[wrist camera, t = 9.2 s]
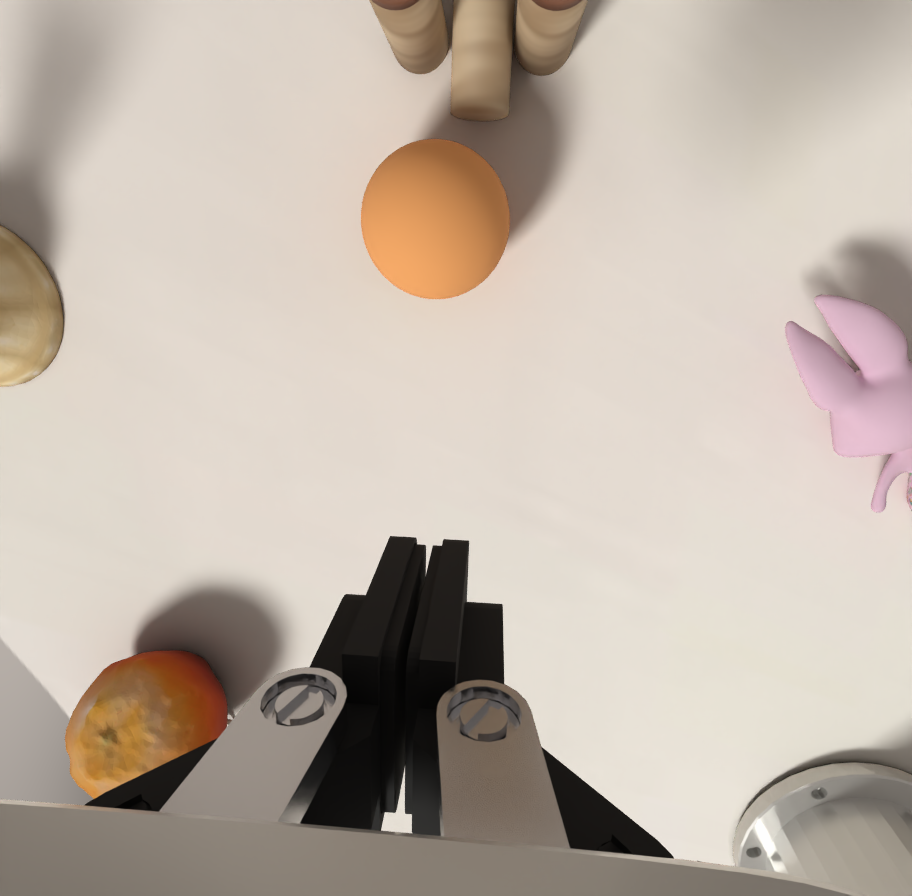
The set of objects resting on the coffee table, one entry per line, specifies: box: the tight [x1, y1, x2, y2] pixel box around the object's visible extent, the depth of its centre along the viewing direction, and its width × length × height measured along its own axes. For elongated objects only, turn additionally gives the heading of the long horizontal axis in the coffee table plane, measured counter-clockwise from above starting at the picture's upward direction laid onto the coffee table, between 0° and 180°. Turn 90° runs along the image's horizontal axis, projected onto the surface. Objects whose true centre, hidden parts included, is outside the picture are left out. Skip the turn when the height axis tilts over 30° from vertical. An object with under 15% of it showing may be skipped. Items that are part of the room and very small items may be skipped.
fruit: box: [65, 650, 232, 799], centre depth 32 cm, size 8×8×8 cm
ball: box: [361, 139, 510, 299], centre depth 23 cm, size 6×6×6 cm
